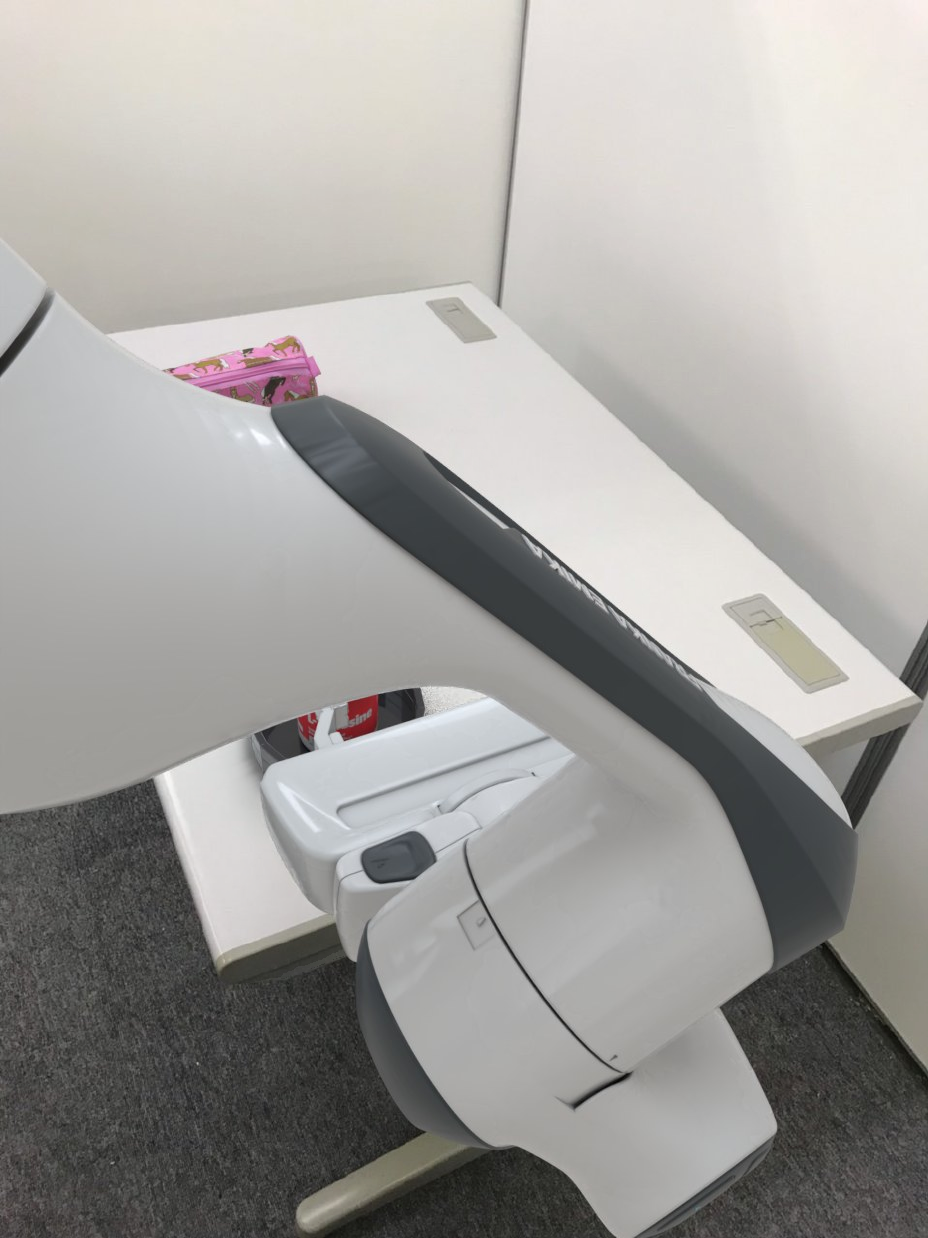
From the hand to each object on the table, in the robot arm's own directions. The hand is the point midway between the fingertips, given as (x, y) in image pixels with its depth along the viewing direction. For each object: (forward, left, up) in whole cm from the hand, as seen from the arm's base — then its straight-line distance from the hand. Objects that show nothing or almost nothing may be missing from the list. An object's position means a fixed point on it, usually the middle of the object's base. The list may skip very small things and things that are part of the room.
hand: (403, 674), depth 56 cm
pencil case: (-11, +59, -18) cm, 63 cm away
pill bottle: (-3, +12, -18) cm, 22 cm away
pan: (-3, +12, -18) cm, 22 cm away
